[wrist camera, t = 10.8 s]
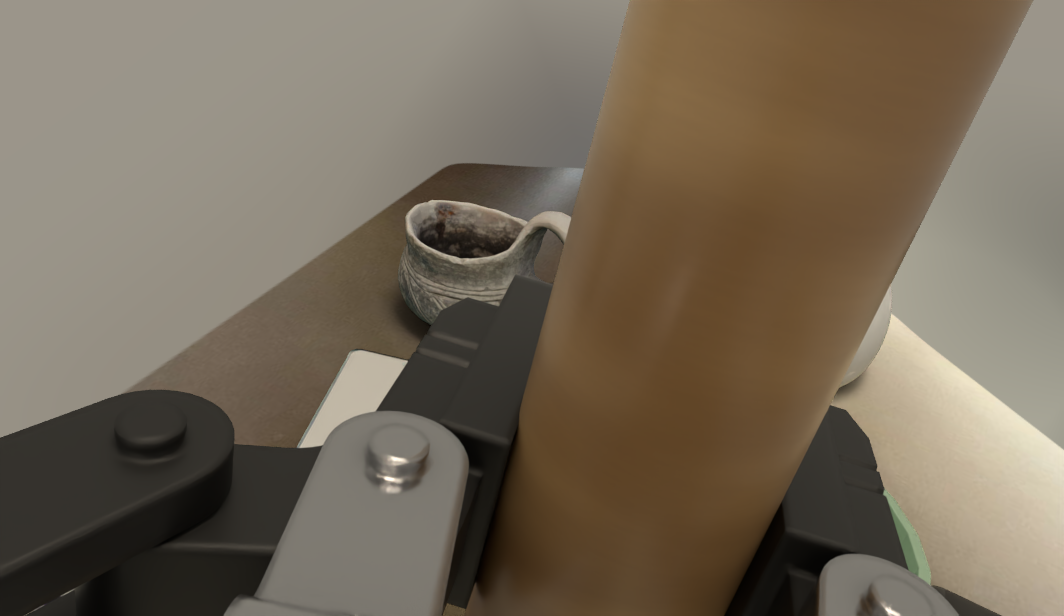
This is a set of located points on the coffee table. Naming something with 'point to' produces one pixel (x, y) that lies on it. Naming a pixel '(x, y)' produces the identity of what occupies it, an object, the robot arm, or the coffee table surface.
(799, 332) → the brush
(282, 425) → the coffee table surface
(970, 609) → the pan handle
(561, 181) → the coffee table surface
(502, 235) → the mug
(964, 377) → the coffee table surface
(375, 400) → the smartphone
